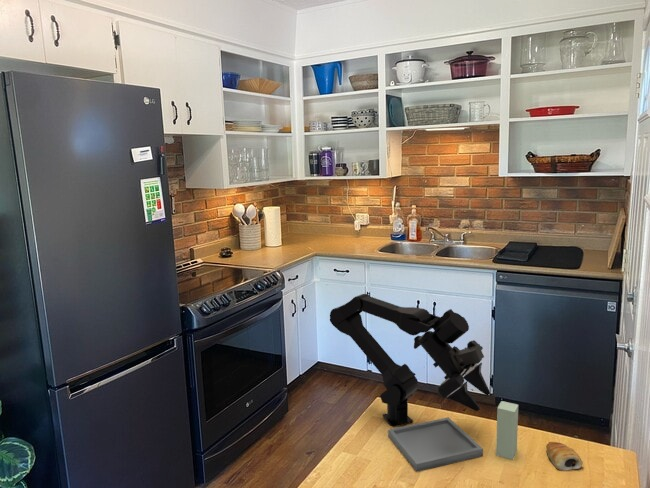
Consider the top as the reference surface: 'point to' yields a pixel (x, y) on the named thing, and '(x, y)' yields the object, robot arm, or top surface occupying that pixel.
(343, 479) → the top surface
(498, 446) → the block
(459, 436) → the tray
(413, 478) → the top surface
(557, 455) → the pastry
